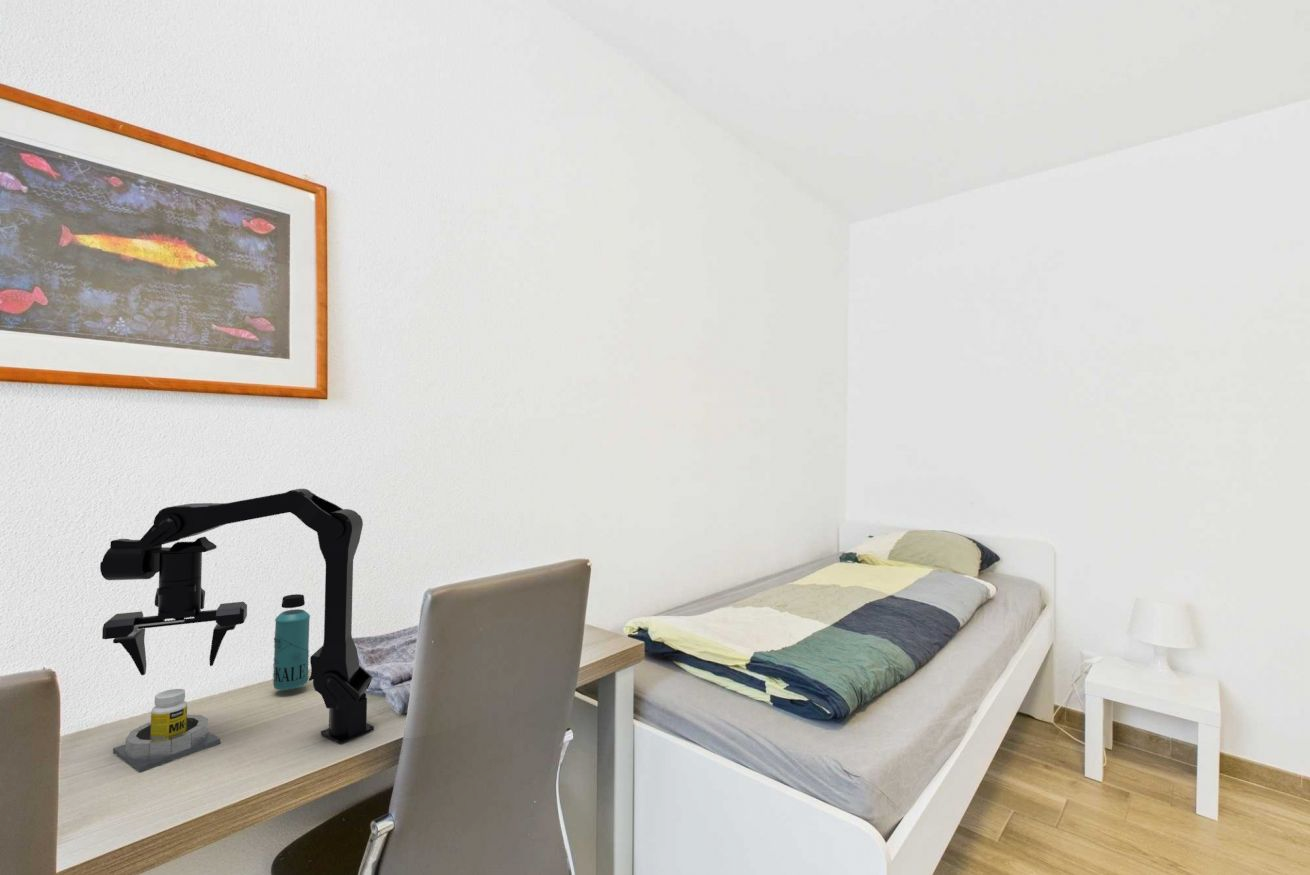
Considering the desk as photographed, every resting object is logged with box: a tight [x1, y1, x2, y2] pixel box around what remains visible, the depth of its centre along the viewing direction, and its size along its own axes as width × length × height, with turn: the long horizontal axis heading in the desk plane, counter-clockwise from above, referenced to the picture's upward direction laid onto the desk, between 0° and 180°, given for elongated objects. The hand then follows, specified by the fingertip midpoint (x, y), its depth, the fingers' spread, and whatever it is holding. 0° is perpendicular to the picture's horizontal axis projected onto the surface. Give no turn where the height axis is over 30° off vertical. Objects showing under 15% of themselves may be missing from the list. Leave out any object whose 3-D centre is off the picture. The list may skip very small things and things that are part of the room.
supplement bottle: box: [150, 688, 188, 740], centre depth 100 cm, size 5×5×8 cm
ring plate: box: [112, 714, 221, 773], centre depth 100 cm, size 11×11×3 cm
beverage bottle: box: [272, 593, 311, 691], centre depth 124 cm, size 6×7×20 cm
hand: (178, 669), depth 101 cm, fingers open, 9 cm apart
